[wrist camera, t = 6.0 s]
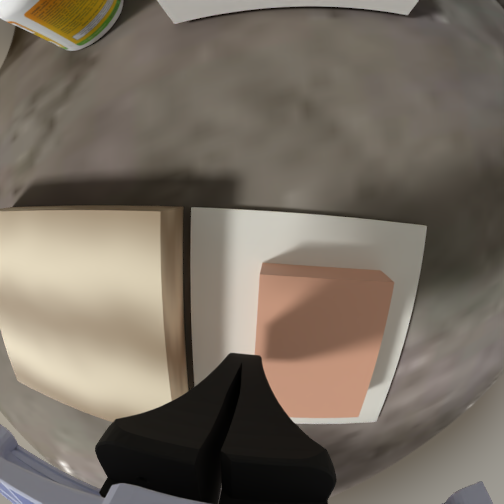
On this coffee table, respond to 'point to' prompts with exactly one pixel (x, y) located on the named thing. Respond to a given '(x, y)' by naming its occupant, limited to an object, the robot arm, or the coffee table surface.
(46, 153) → the coffee table surface
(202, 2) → the bracket
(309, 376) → the tile
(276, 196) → the coffee table surface
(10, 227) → the beige flat block
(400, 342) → the mat
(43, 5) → the supplement bottle
